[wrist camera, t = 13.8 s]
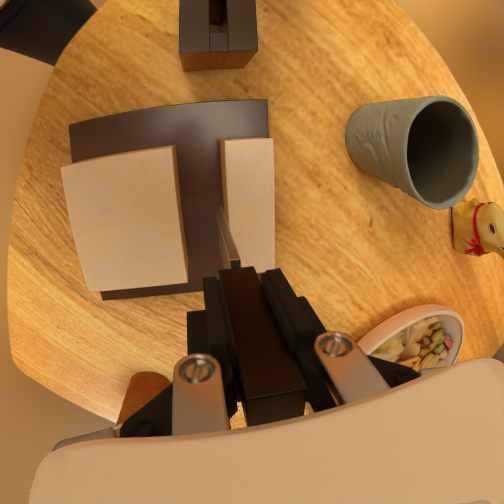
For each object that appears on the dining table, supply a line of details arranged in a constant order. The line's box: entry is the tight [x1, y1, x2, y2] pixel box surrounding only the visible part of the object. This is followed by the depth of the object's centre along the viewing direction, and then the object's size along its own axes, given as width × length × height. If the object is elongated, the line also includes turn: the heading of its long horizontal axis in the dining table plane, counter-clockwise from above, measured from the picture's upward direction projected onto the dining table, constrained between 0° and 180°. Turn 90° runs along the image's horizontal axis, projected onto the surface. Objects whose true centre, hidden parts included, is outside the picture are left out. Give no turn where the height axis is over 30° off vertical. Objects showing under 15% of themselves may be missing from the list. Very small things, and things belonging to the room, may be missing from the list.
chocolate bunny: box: [452, 198, 504, 259], centre depth 30 cm, size 7×11×15 cm, turn 25°
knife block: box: [179, 0, 258, 72], centre depth 20 cm, size 7×6×7 cm
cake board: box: [69, 99, 269, 301], centre depth 29 cm, size 20×20×1 cm
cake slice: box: [220, 137, 275, 273], centre depth 27 cm, size 12×4×5 cm, turn 2°
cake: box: [60, 145, 188, 292], centre depth 25 cm, size 12×10×5 cm
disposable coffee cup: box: [114, 372, 170, 430], centre depth 33 cm, size 10×10×12 cm
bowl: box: [357, 304, 465, 372], centre depth 43 cm, size 30×30×8 cm
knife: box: [214, 206, 308, 427], centre depth 14 cm, size 3×2×16 cm, turn 2°
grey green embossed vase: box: [346, 96, 479, 209], centre depth 25 cm, size 10×10×12 cm
